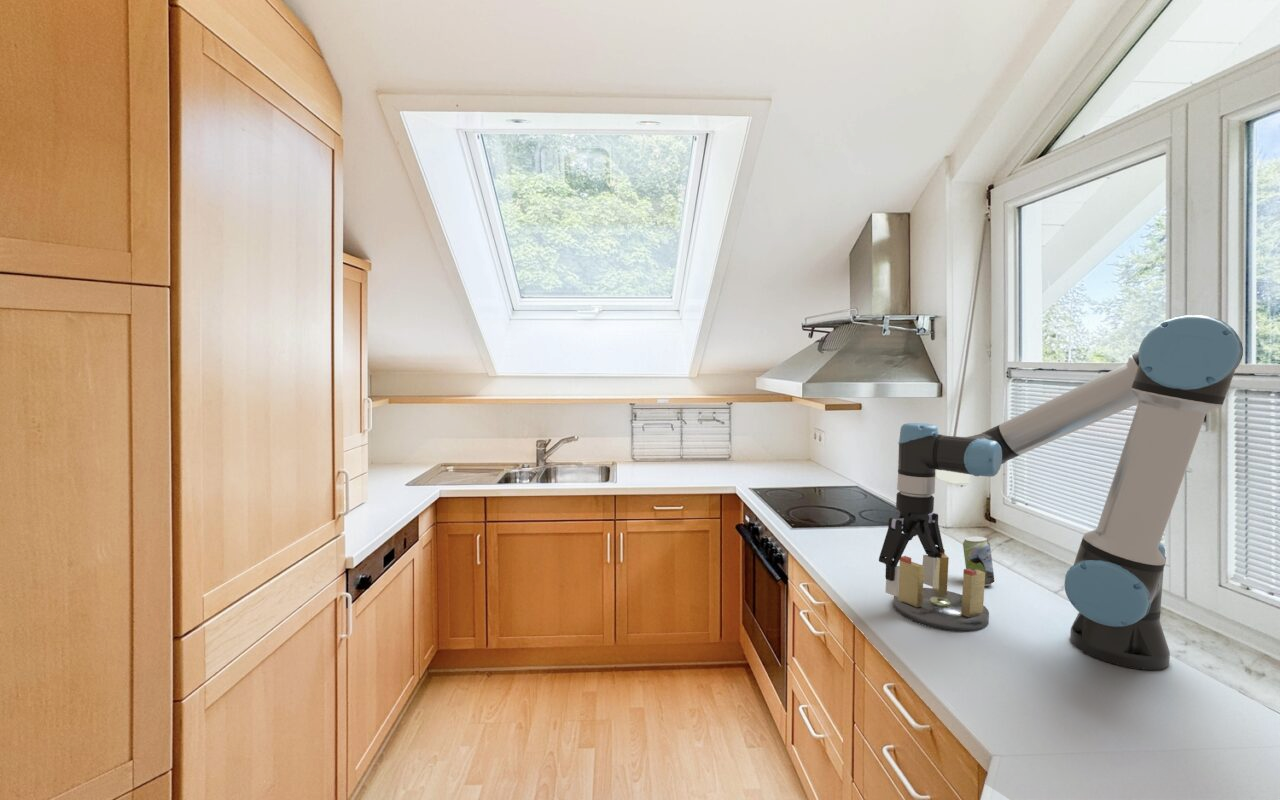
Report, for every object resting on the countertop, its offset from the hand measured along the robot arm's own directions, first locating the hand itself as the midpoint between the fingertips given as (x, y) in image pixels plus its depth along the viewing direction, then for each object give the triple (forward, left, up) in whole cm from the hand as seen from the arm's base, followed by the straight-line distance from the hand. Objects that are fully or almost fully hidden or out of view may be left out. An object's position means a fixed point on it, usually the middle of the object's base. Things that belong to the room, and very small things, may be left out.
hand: (910, 589), depth 132 cm
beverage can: (+3, -31, -6) cm, 32 cm away
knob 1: (0, 0, -3) cm, 3 cm away
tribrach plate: (-3, -6, -5) cm, 9 cm away
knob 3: (-10, -7, -3) cm, 13 cm away
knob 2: (+1, -12, -3) cm, 12 cm away
